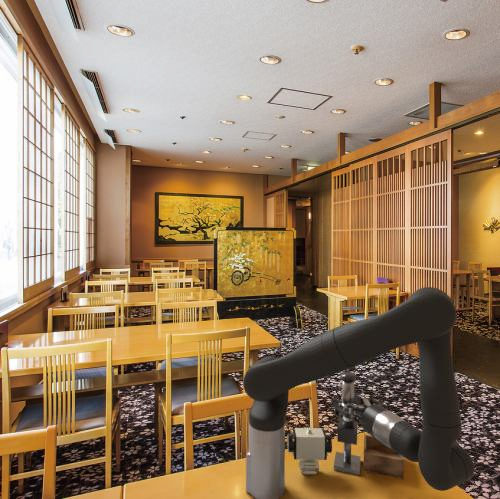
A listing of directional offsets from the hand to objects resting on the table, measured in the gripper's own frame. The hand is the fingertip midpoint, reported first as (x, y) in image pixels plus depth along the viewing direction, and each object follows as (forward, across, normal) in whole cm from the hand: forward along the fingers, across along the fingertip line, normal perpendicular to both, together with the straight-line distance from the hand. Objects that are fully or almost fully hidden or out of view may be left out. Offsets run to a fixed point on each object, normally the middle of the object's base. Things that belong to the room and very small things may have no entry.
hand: (343, 399), depth 102 cm
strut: (-2, 0, +10) cm, 11 cm away
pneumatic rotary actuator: (0, +11, +18) cm, 21 cm away
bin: (-6, -10, +18) cm, 21 cm away
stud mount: (-2, 0, +18) cm, 18 cm away
